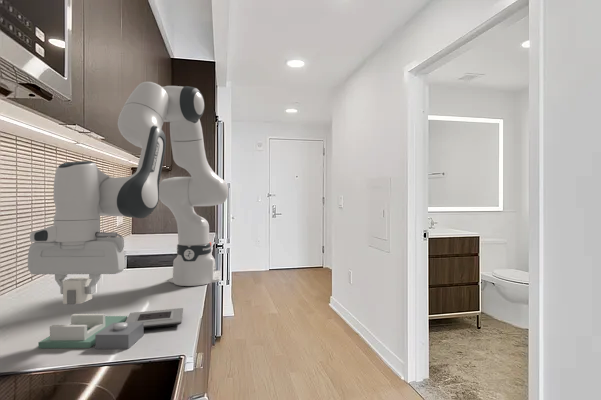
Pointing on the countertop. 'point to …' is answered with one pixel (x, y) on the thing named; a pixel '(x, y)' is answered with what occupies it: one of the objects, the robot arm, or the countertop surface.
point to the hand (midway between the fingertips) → (78, 293)
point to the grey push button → (119, 335)
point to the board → (79, 331)
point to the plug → (76, 290)
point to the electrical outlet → (157, 318)
